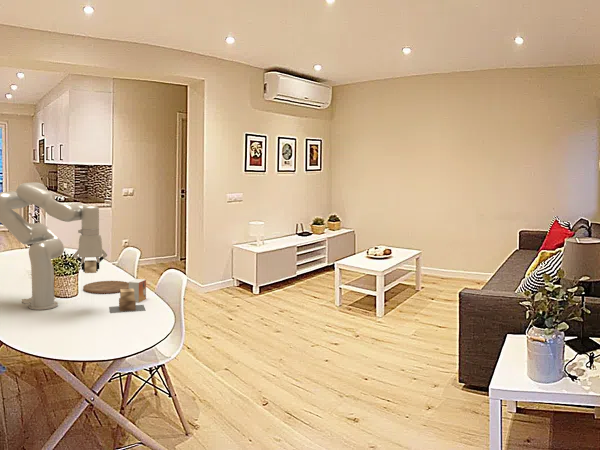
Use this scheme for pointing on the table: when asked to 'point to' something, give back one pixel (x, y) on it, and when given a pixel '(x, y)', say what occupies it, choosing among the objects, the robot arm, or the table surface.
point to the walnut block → (127, 305)
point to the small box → (138, 289)
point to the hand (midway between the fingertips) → (90, 270)
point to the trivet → (105, 287)
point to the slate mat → (117, 310)
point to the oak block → (127, 294)
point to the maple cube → (90, 266)
